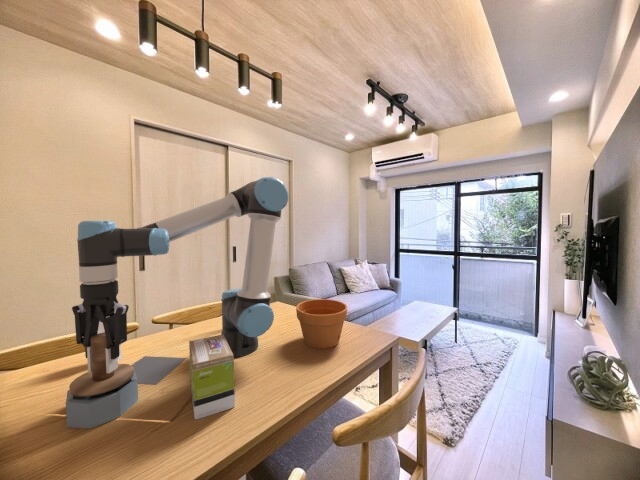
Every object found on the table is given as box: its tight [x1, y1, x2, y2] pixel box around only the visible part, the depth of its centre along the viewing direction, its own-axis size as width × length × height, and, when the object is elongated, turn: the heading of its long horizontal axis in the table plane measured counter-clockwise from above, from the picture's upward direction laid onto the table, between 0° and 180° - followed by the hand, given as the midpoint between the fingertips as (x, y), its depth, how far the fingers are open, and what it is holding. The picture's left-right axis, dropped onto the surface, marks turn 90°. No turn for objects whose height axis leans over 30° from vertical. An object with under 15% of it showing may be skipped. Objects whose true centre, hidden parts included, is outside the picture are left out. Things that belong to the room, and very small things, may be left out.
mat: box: [130, 355, 188, 386], centre depth 88 cm, size 16×16×1 cm
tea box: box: [188, 334, 236, 421], centre depth 73 cm, size 15×10×15 cm, turn 29°
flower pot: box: [295, 298, 348, 349], centre depth 110 cm, size 21×21×15 cm
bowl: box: [65, 371, 139, 429], centre depth 69 cm, size 14×14×6 cm
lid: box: [68, 332, 134, 397], centre depth 69 cm, size 13×13×12 cm
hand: (103, 369), depth 69 cm, fingers closed on lid, 4 cm apart
